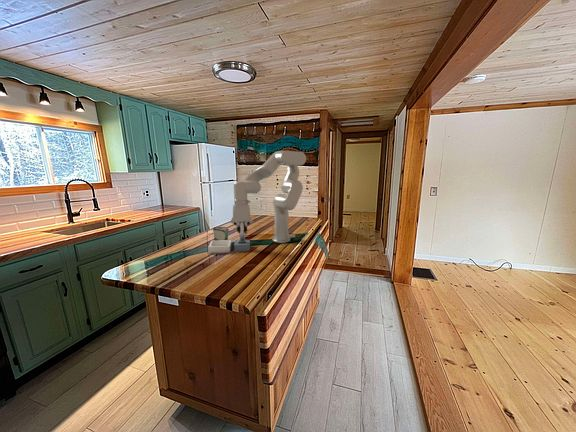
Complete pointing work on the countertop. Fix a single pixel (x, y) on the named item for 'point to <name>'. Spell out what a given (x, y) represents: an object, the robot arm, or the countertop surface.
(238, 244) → the block
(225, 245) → the parts tray
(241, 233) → the steel pin
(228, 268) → the countertop surface
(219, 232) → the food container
